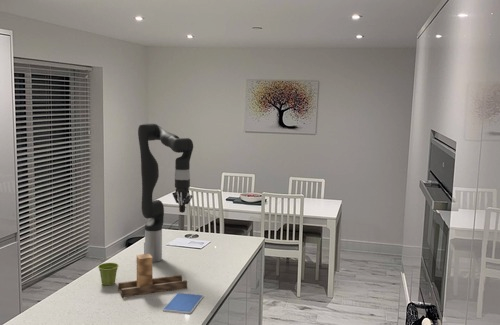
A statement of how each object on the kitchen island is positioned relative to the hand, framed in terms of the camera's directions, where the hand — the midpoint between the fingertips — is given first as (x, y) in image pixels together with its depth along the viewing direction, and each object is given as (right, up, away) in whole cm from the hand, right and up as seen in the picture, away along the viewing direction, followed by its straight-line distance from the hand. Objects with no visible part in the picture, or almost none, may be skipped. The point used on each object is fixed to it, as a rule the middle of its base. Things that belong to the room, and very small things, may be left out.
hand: (182, 212), depth 239 cm
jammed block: (-15, -33, -19) cm, 41 cm away
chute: (-11, -34, -18) cm, 40 cm away
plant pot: (-34, -33, -12) cm, 48 cm away
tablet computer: (+5, -37, -33) cm, 50 cm away
